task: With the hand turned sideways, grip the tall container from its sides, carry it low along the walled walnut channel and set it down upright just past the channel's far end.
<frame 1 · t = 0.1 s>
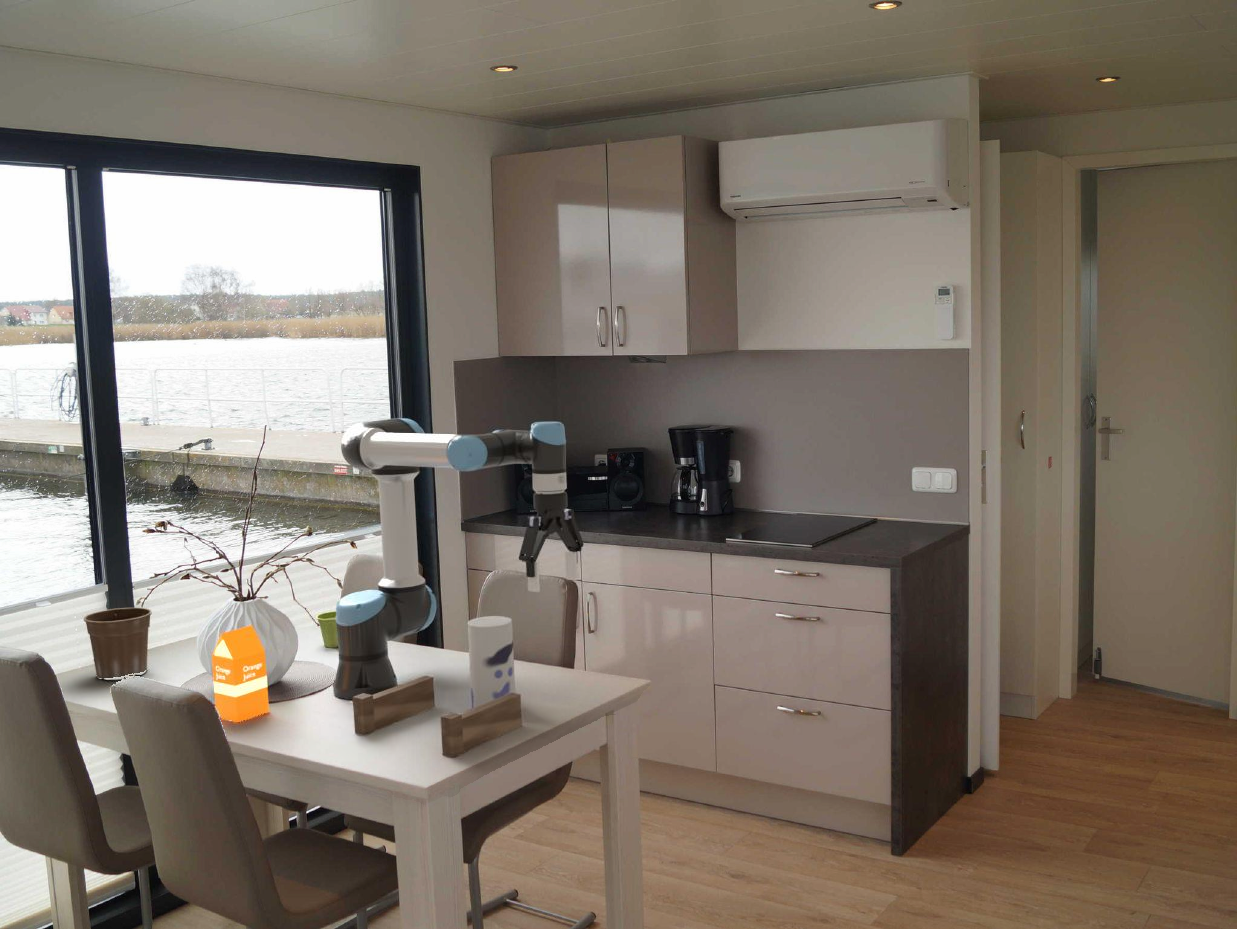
hand: (553, 585, 254), 28 cm above the table, tool pointing down, fingers open, 13 cm apart
channel: (441, 728, 245), on the table
plant pot 2: (335, 645, 318), on the table
plant pot: (123, 675, 296), on the table
container: (494, 707, 259), on the table
orange juice: (243, 715, 259), on the table
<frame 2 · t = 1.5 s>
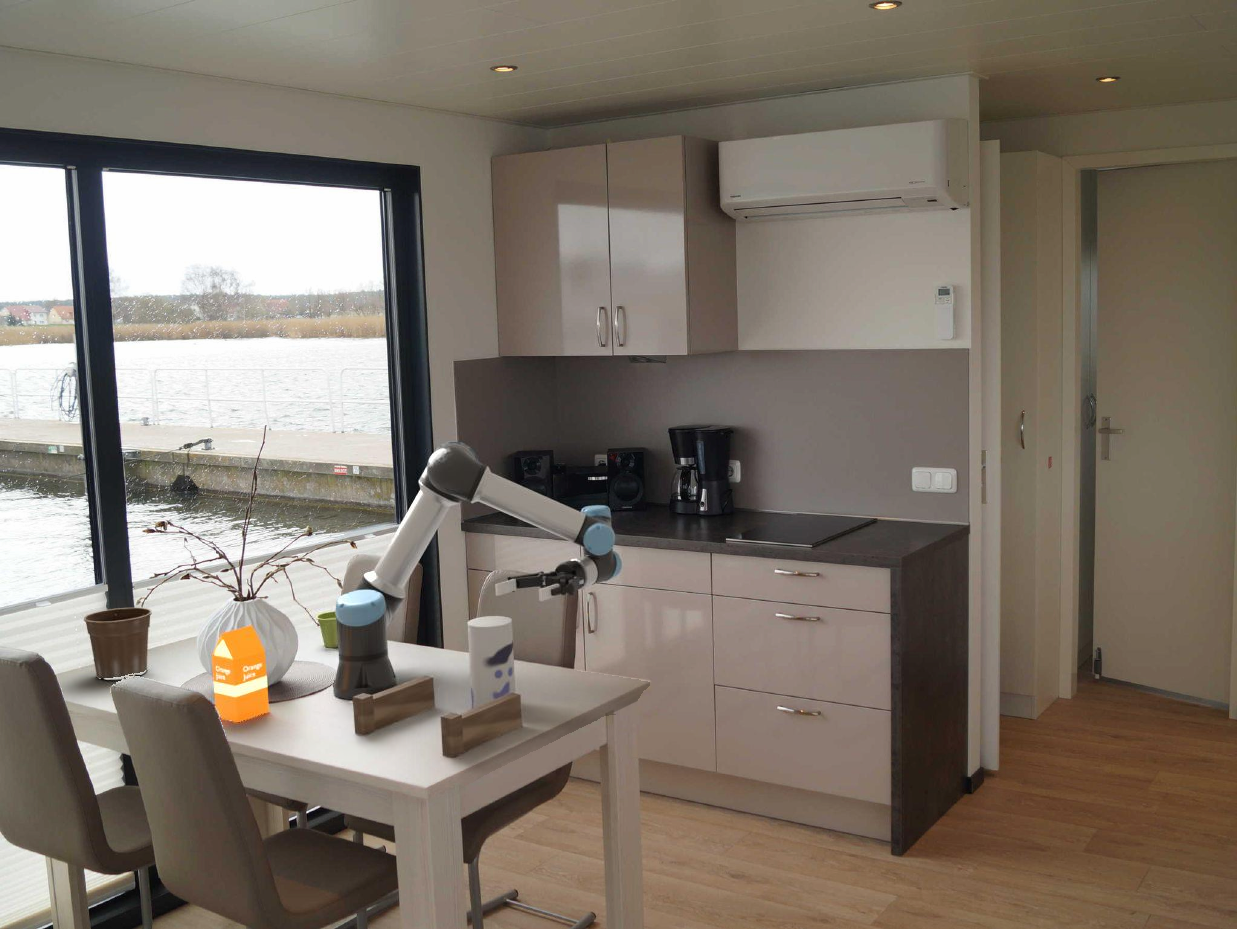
hand: (517, 592, 264), 24 cm above the table, tool horizontal, fingers open, 13 cm apart
nothing on the table moved.
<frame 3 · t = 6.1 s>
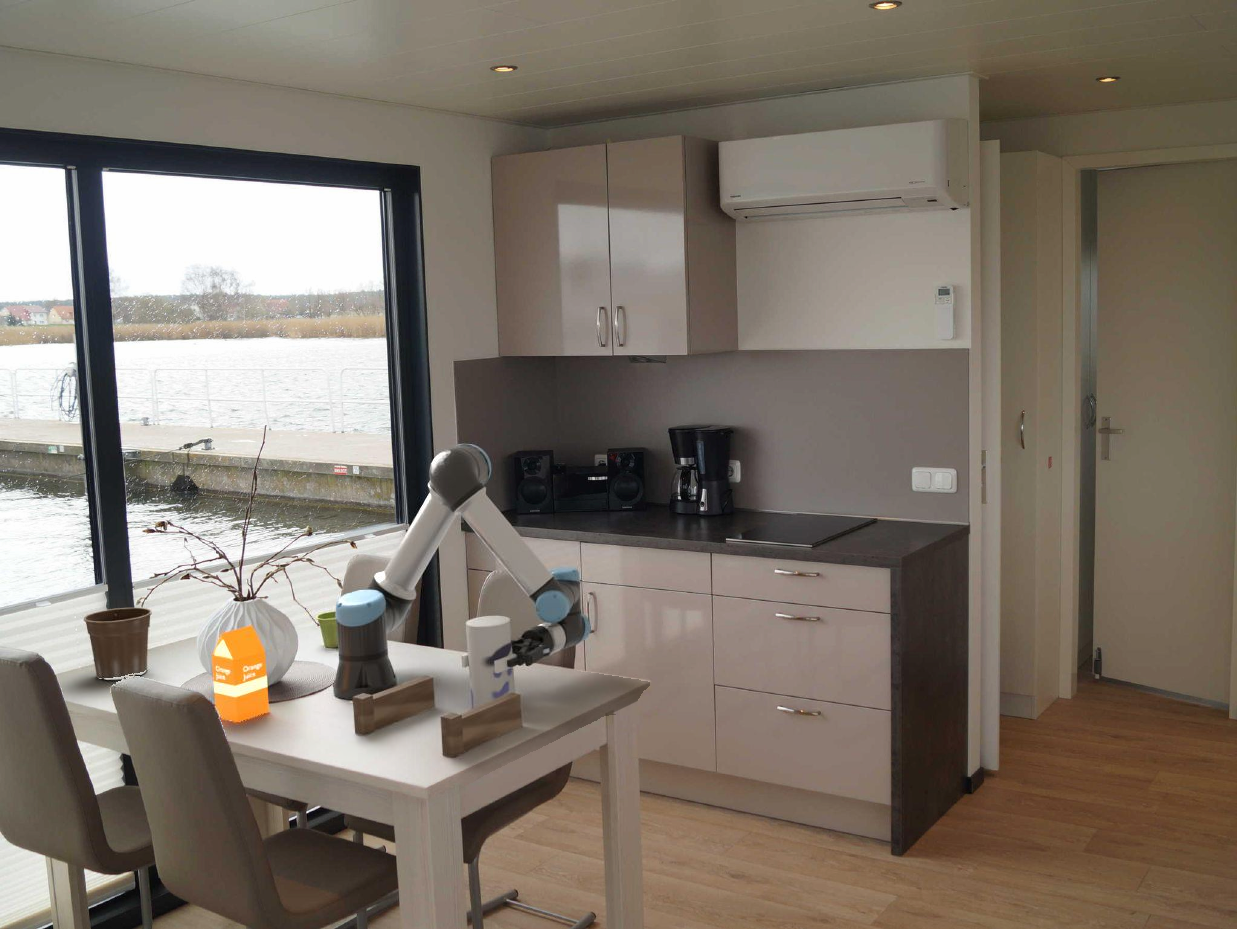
hand: (479, 664, 254), 11 cm above the table, tool horizontal, fingers open, 9 cm apart
container: (493, 707, 259), on the table, touching gripper
everything else where it was.
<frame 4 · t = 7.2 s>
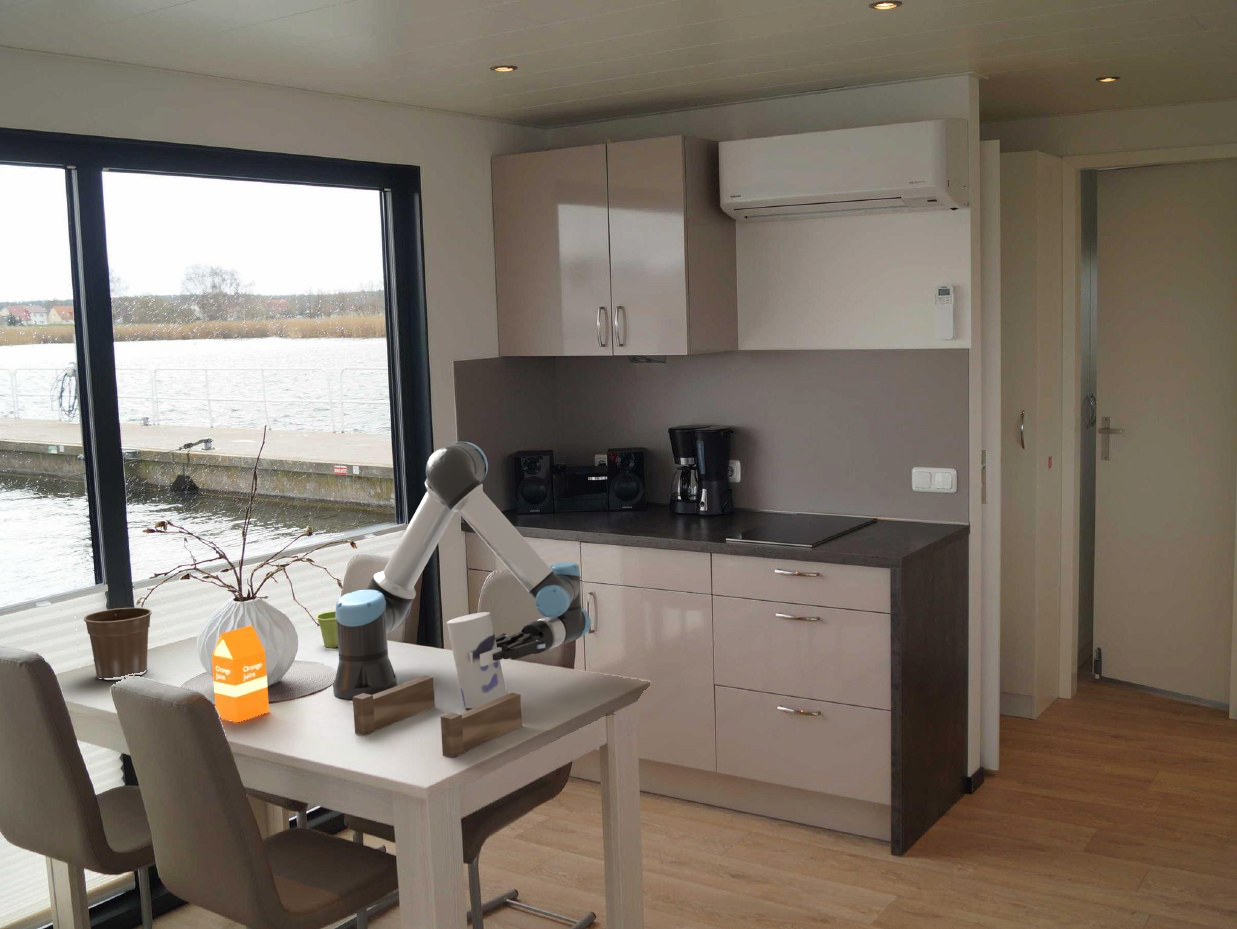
hand: (476, 659, 253), 12 cm above the table, tool horizontal, fingers closed on container, 2 cm apart
container: (486, 703, 259), point 1 cm above the table, touching gripper
everything else where it was.
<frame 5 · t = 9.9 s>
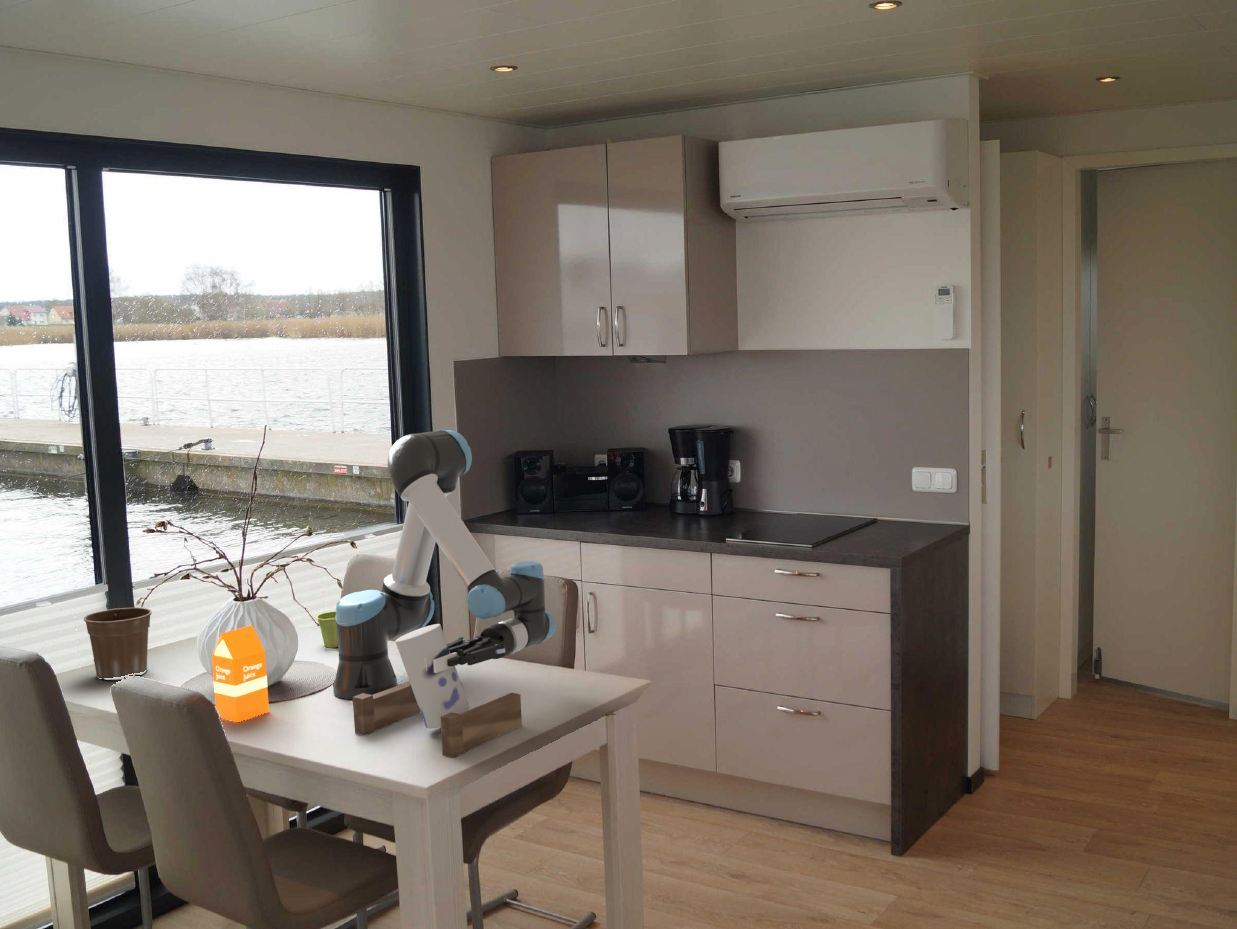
hand: (430, 665, 236), 16 cm above the table, tool horizontal, fingers closed on container, 2 cm apart
container: (448, 720, 243), point 2 cm above the table, touching gripper
everything else where it was.
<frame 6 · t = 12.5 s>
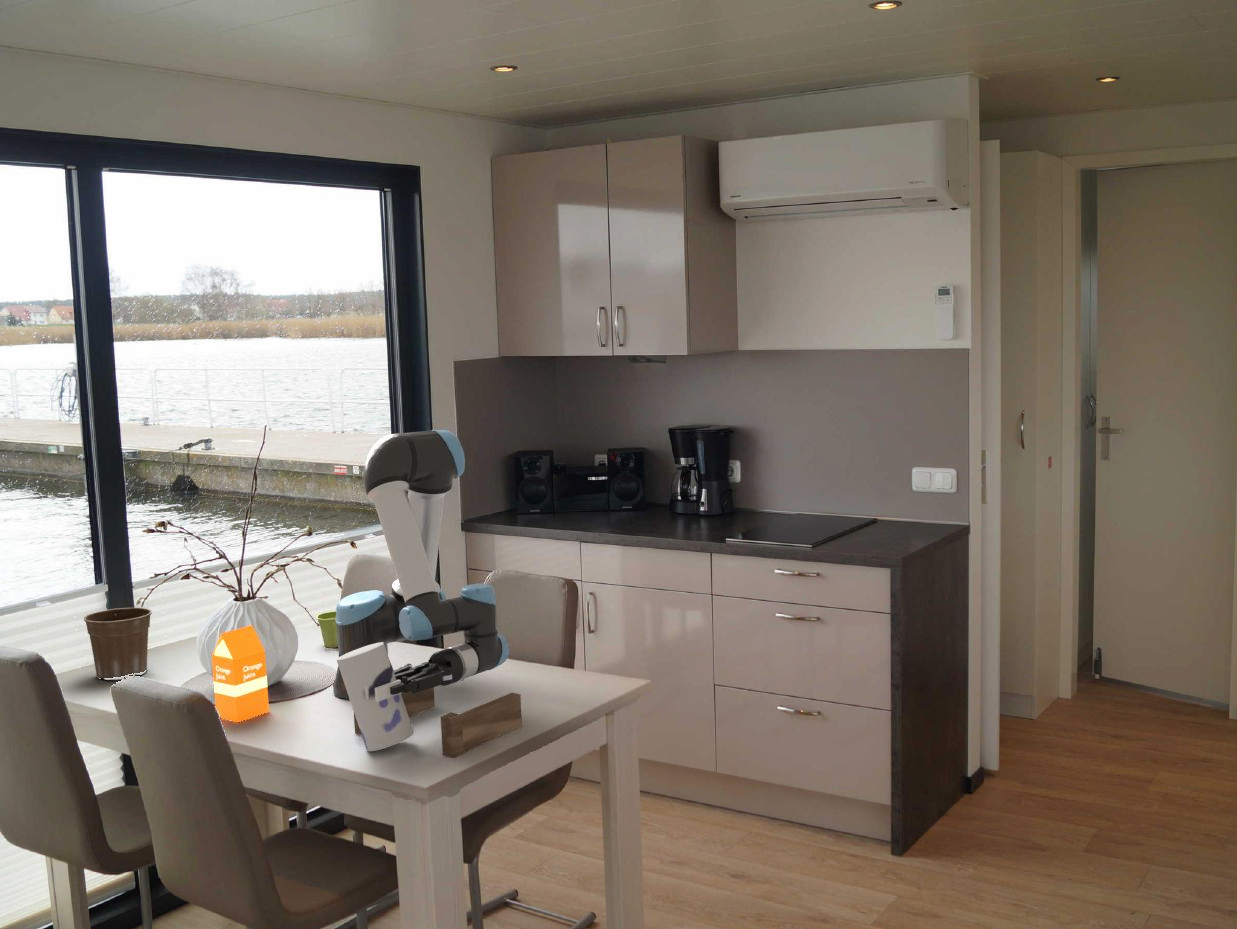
hand: (371, 693, 228), 13 cm above the table, tool horizontal, fingers closed on container, 2 cm apart
container: (391, 742, 234), point 1 cm above the table, touching gripper
everything else where it was.
when the fingers open (13 cm above the table, at t = 12.6 s): container drops 1 cm, on the table.
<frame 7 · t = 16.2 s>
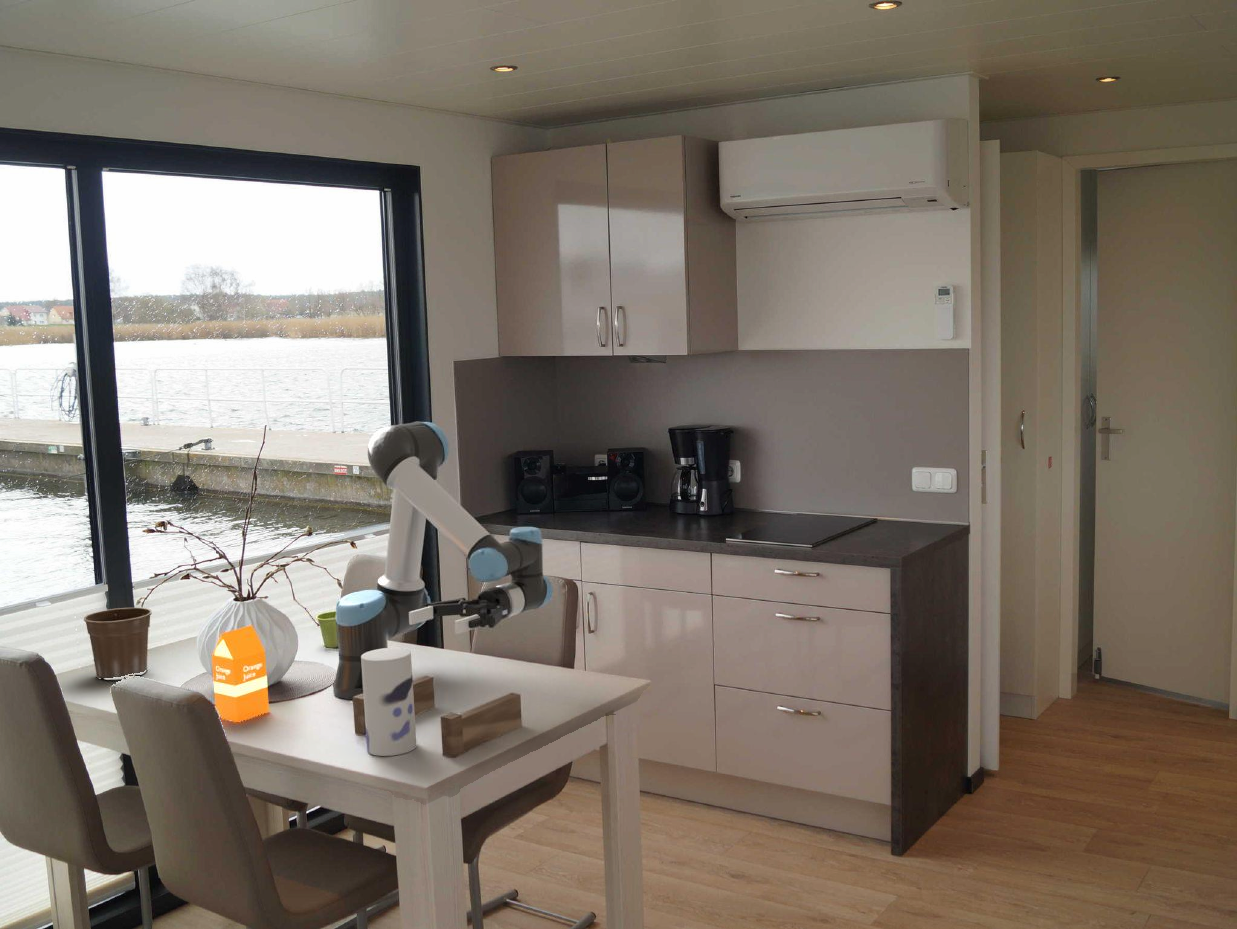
hand: (432, 622, 241), 24 cm above the table, tool horizontal, fingers open, 13 cm apart
container: (392, 749, 234), on the table
everything else where it was.
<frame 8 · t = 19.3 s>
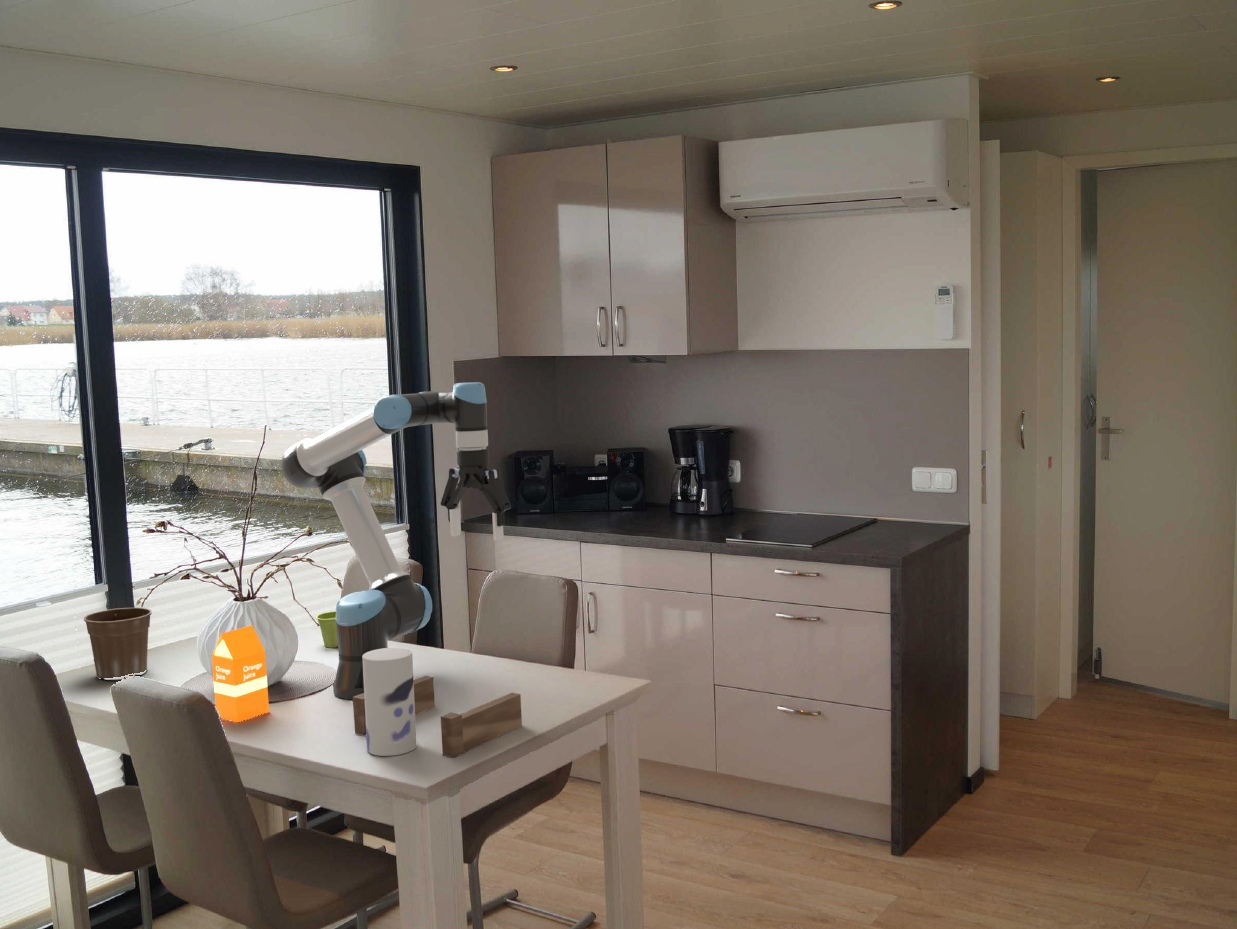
hand: (476, 537, 269), 37 cm above the table, tool pointing down, fingers open, 13 cm apart
nothing on the table moved.
at the end: container inside the target area (0.4 cm from its centre), on the table; container tilted 1°; the gripper is holding nothing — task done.
